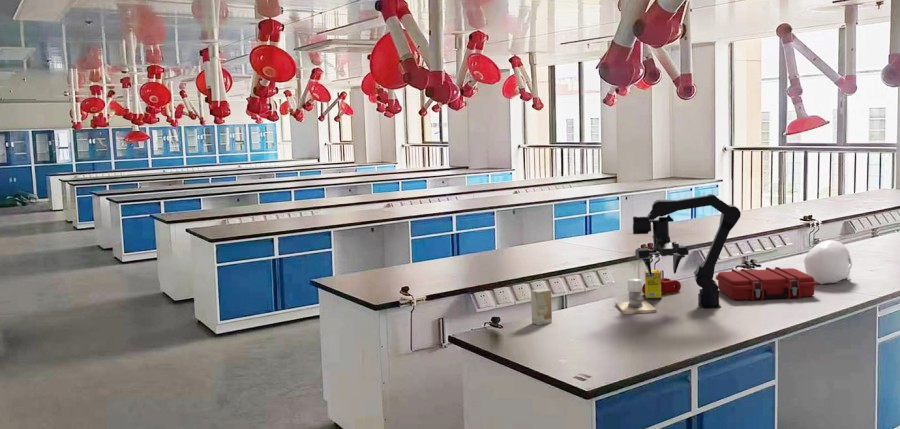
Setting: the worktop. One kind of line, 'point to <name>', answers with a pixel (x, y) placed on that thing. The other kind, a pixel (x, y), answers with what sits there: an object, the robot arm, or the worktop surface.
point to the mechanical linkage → (667, 286)
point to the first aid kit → (766, 284)
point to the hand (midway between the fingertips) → (662, 274)
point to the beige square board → (635, 305)
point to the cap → (634, 285)
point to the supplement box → (653, 285)
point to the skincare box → (541, 306)
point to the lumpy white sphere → (828, 262)
